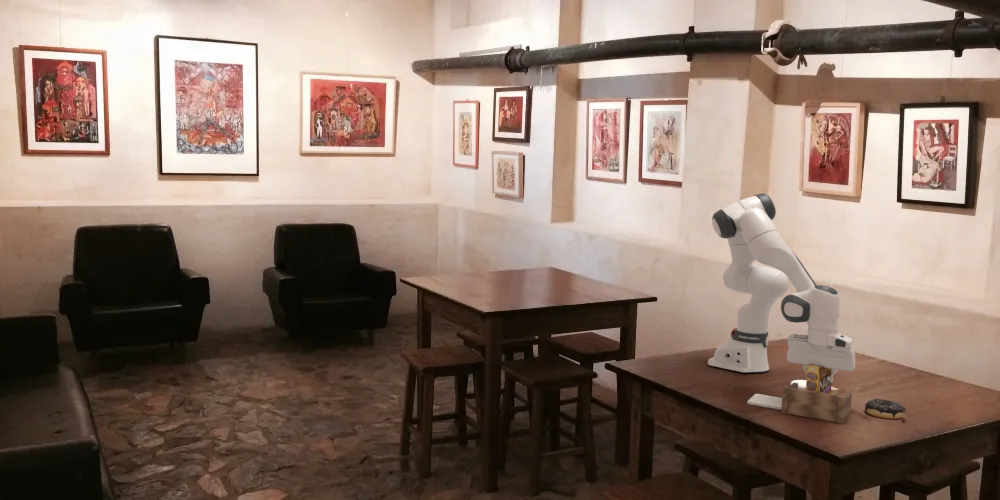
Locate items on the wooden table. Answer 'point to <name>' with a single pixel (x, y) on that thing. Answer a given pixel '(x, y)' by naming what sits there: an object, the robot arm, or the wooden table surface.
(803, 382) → the white round container
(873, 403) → the donut
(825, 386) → the candy box
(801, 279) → the robot arm
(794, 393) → the open wooden box
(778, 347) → the wooden table surface
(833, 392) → the offcut top
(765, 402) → the mat
